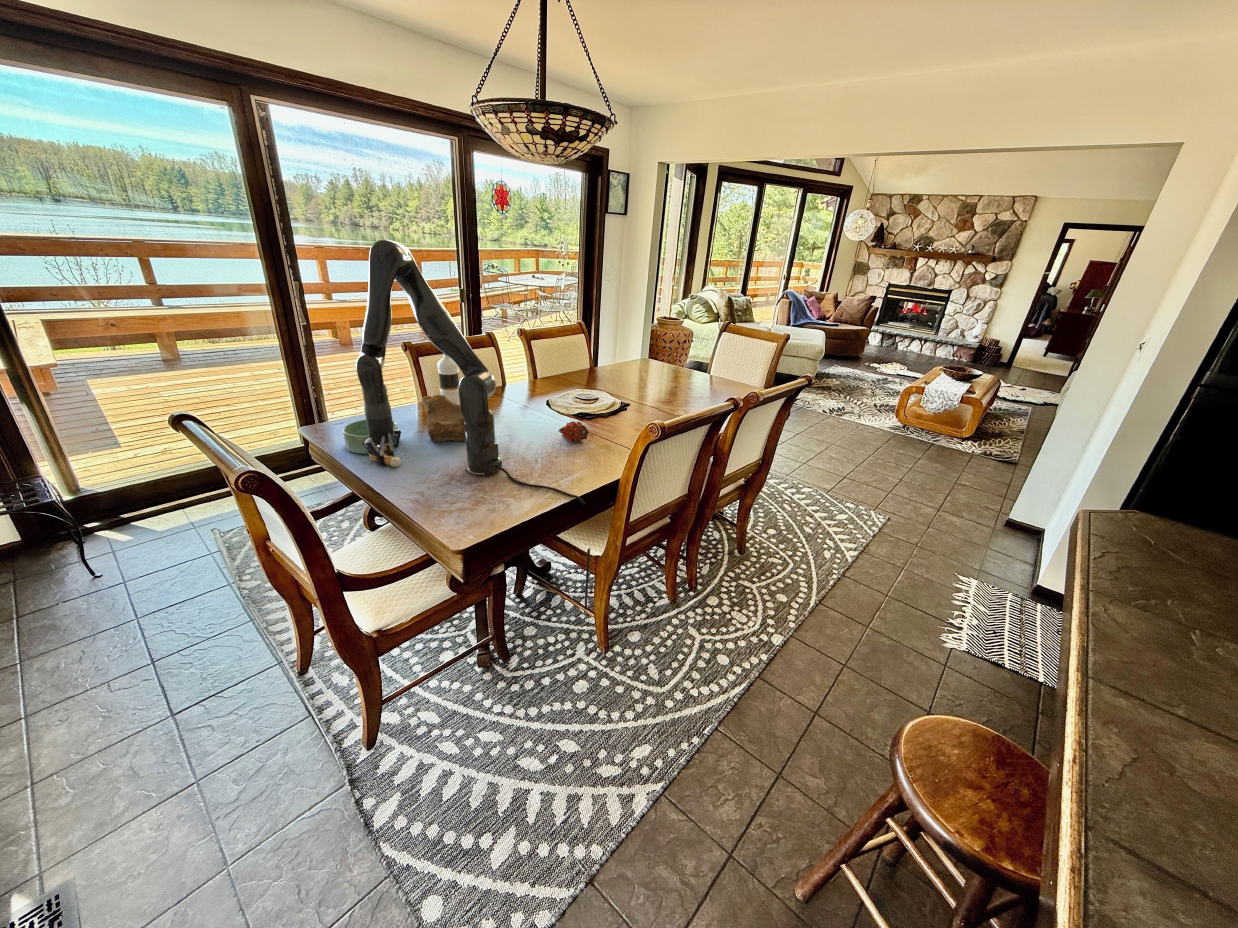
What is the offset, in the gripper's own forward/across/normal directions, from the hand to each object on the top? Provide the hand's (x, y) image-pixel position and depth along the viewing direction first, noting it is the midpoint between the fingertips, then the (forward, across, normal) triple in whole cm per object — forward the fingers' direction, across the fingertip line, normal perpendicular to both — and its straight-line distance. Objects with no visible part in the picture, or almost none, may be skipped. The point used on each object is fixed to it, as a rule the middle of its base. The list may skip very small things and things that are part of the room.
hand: (386, 462), depth 160 cm
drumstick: (0, 0, 0) cm, 0 cm away
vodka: (0, +51, +18) cm, 54 cm away
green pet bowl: (0, +8, +16) cm, 17 cm away
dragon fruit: (0, +51, -42) cm, 66 cm away
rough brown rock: (0, +27, -2) cm, 27 cm away
